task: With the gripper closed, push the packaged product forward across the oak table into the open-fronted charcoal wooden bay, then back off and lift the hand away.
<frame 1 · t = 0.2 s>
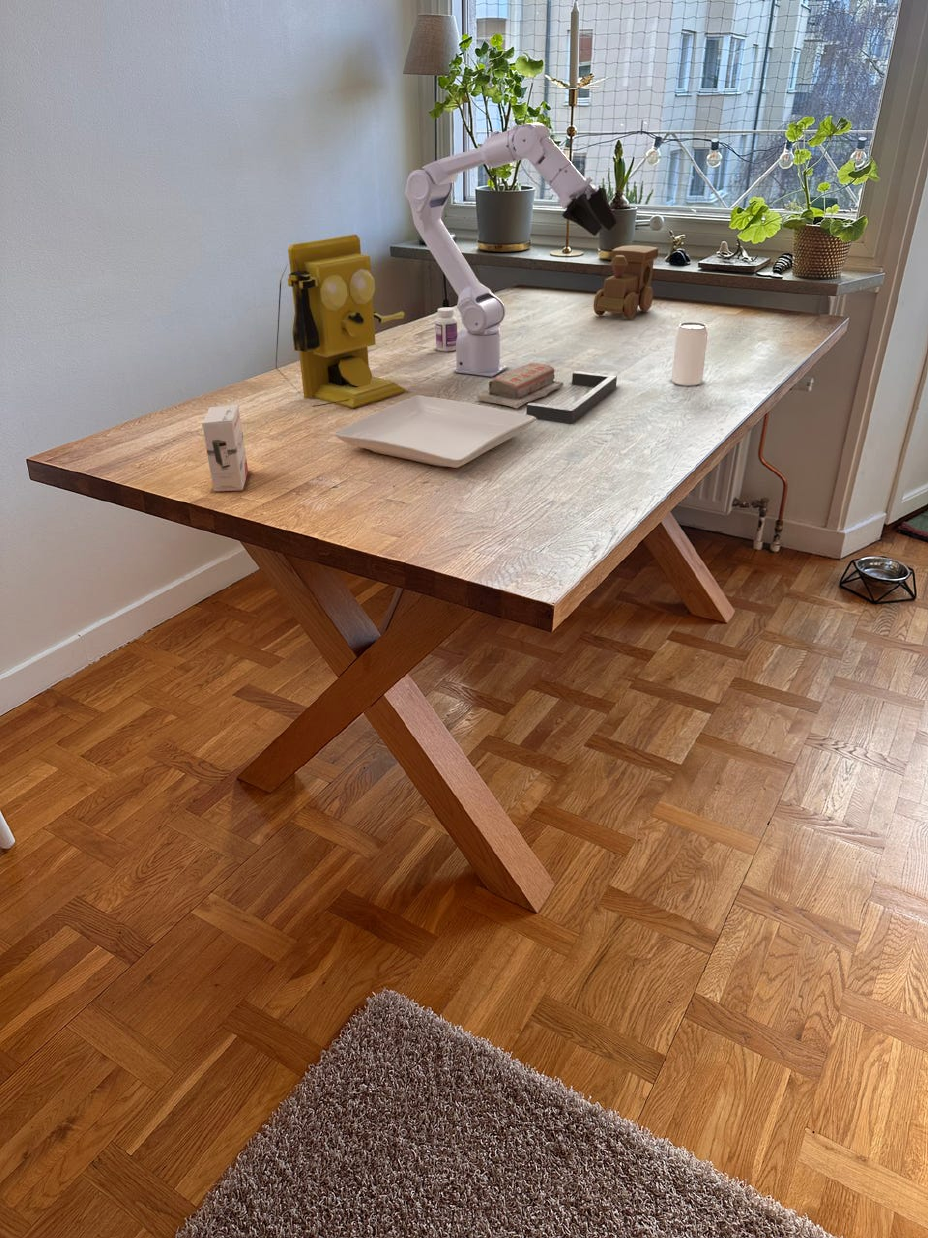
hand: (606, 229, 176), 31 cm above the table, tool tilted 45°, fingers open, 7 cm apart
pill bottle: (447, 349, 221), on the table
wooden toy train: (623, 314, 252), on the table
vintage telephone: (353, 396, 189), on the table
can: (686, 383, 194), on the table
bay: (569, 401, 183), on the table
ink box: (231, 482, 149), on the table
square plate: (436, 443, 164), on the table
packaged product: (520, 395, 188), on the table
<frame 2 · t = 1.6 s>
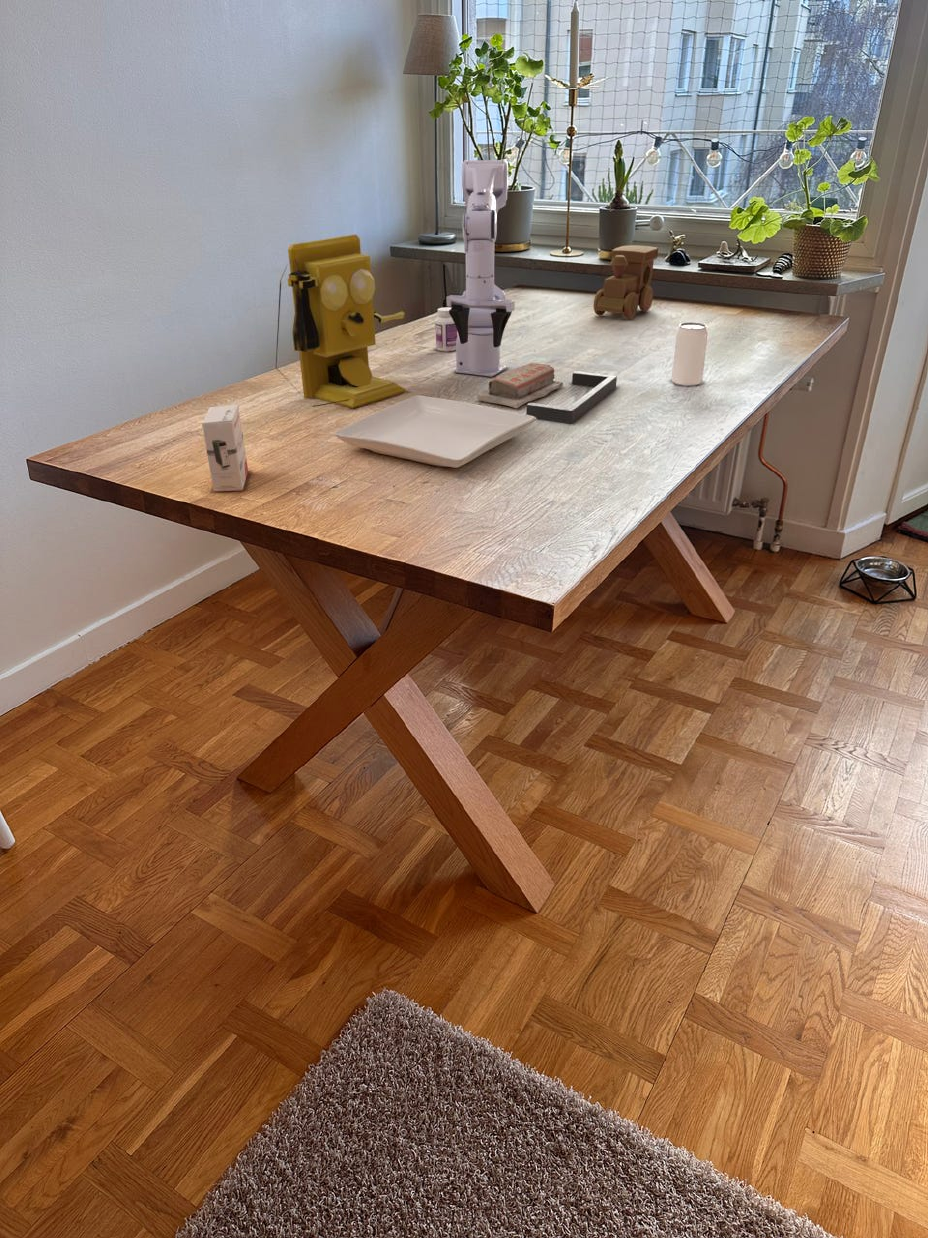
hand: (480, 344, 187), 9 cm above the table, tool pointing down, fingers open, 7 cm apart
nothing on the table moved.
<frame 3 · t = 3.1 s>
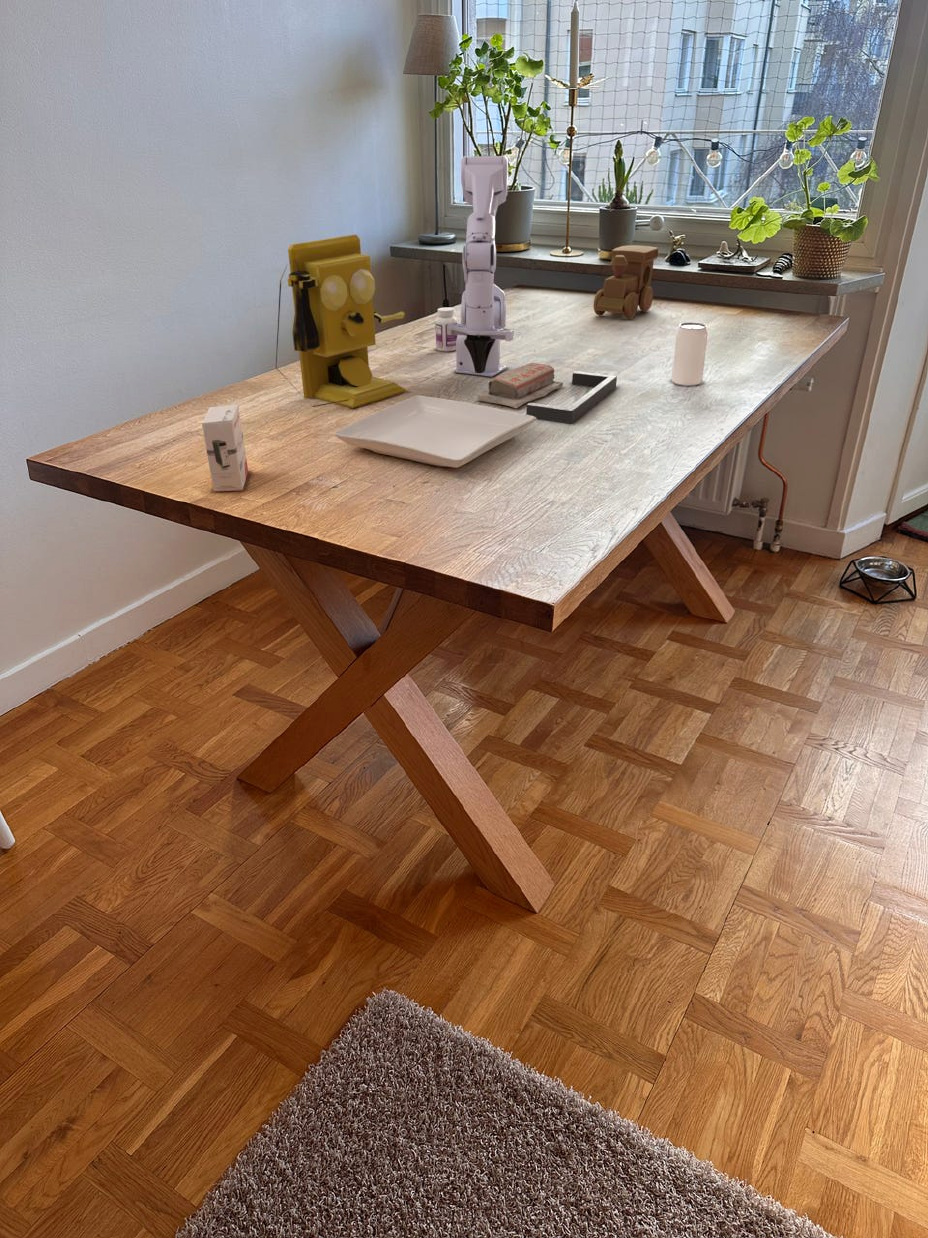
hand: (480, 371, 190), 4 cm above the table, tool pointing down, fingers closed
nothing on the table moved.
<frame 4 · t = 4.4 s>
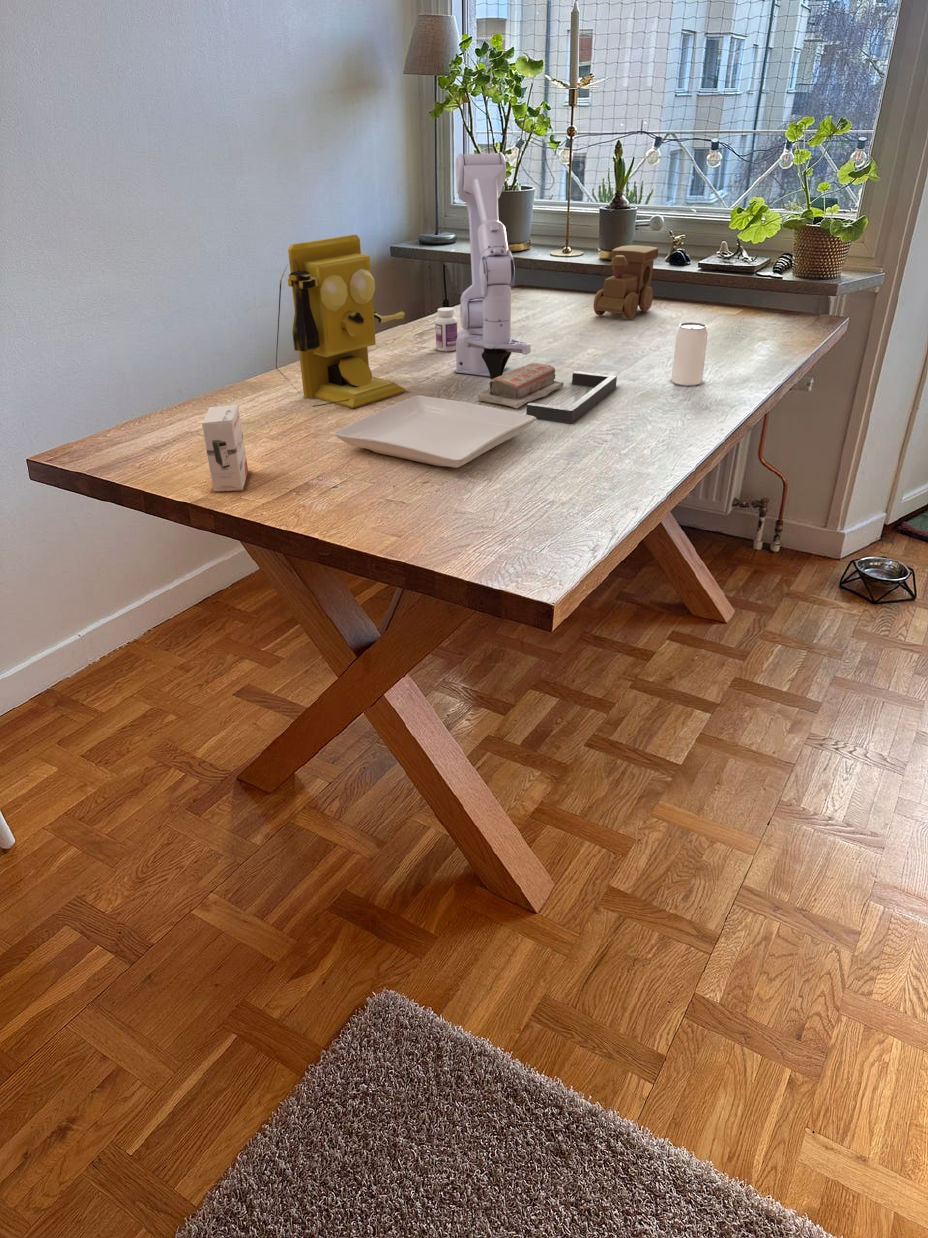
hand: (496, 384, 189), 1 cm above the table, tool pointing down, fingers closed
packaged product: (521, 395, 188), on the table, touching gripper
everything else where it was.
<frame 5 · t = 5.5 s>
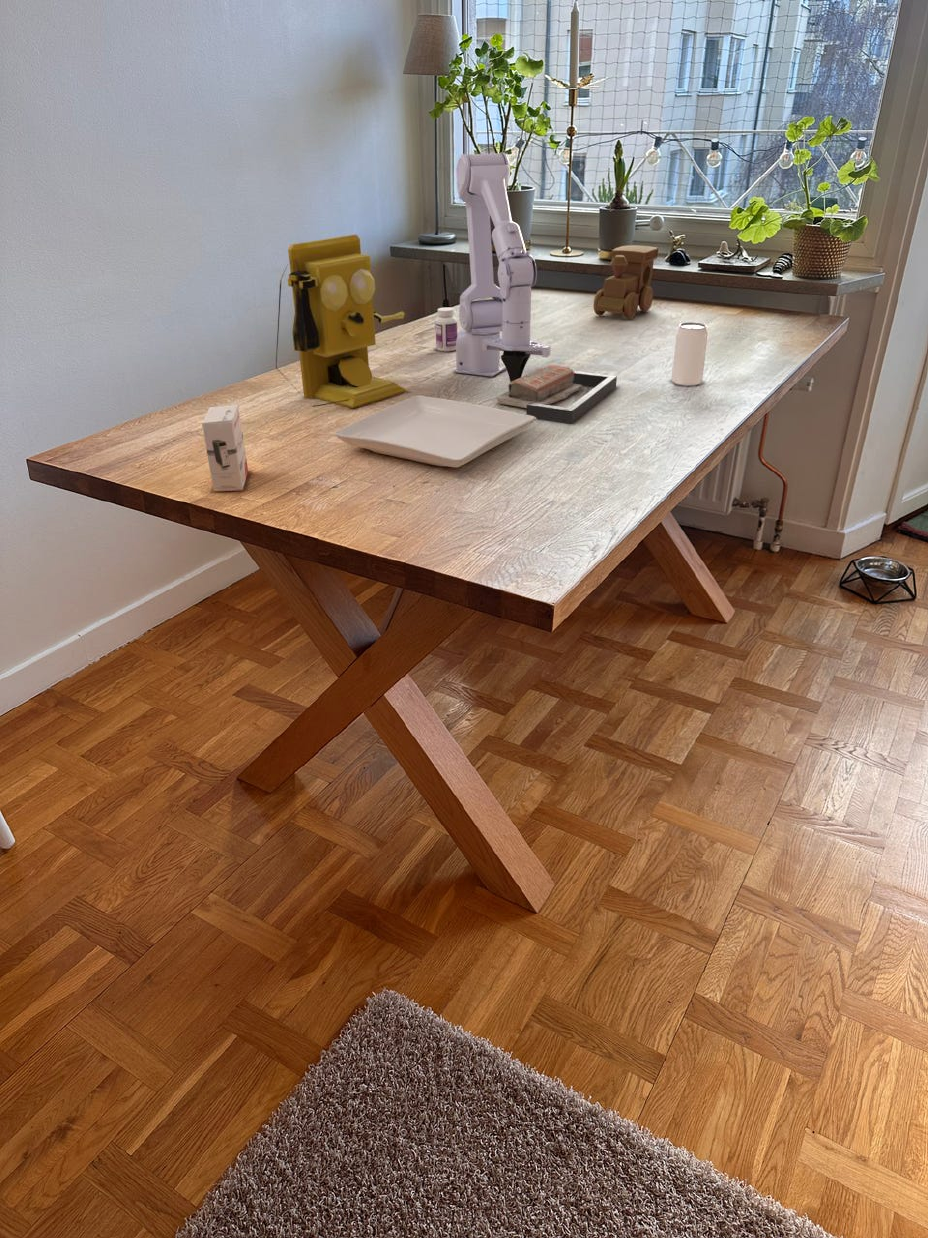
hand: (515, 387, 187), 1 cm above the table, tool pointing down, fingers closed
packaged product: (540, 398, 186), on the table, touching gripper
everything else where it was.
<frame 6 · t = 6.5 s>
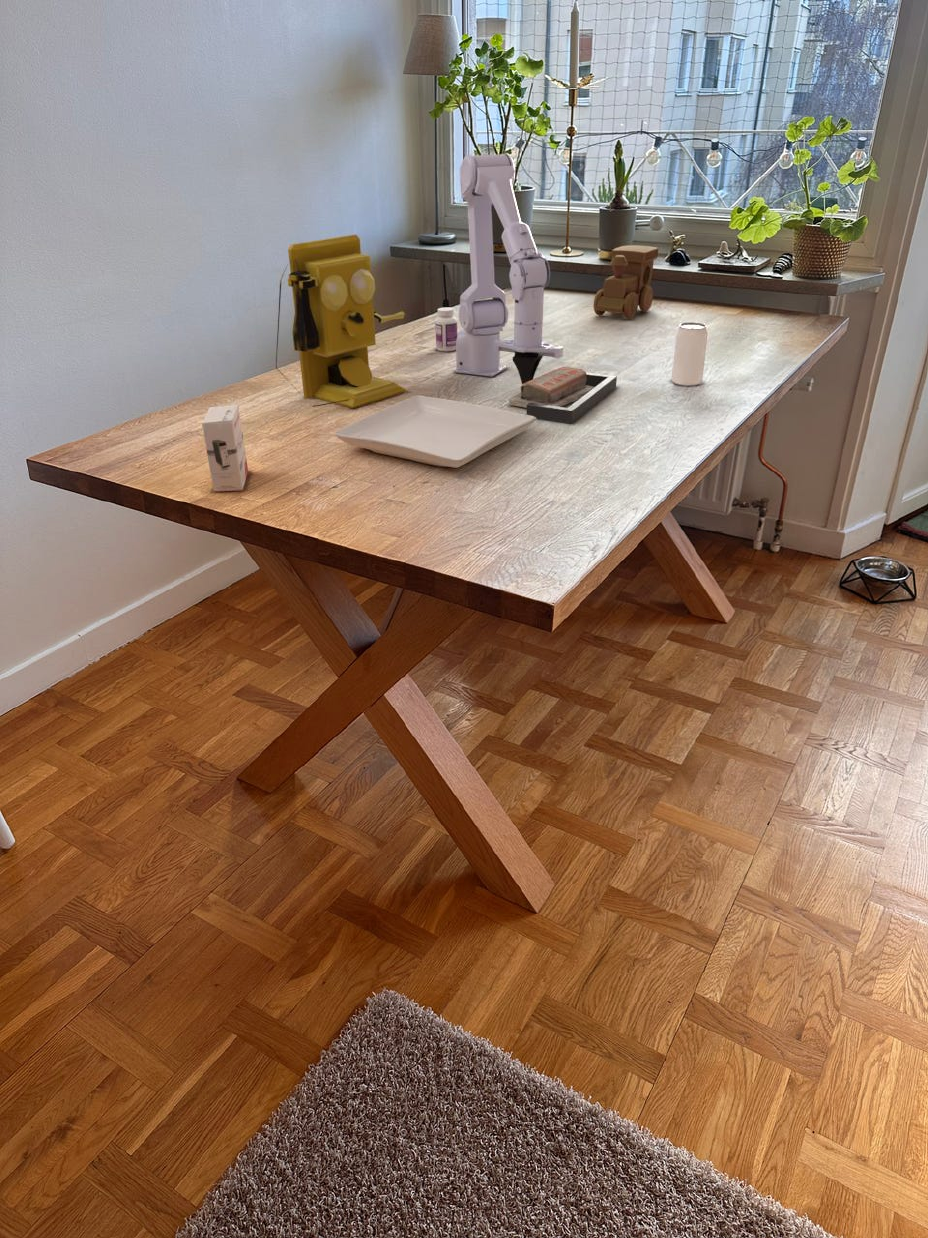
hand: (527, 388, 186), 1 cm above the table, tool pointing down, fingers closed
packaged product: (552, 399, 185), on the table, touching gripper
everything else where it was.
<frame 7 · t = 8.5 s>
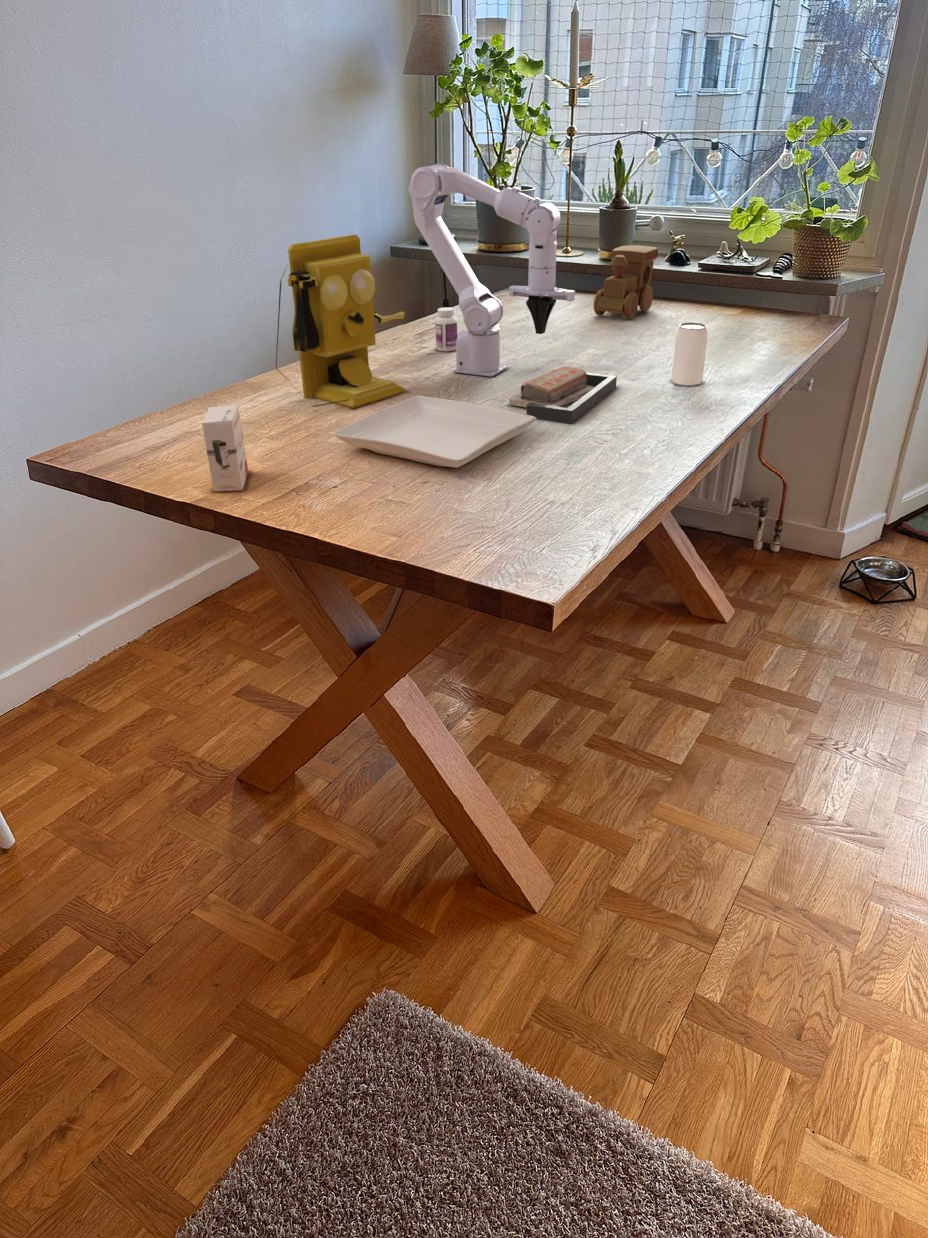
hand: (540, 332, 195), 9 cm above the table, tool pointing down, fingers closed
packaged product: (552, 399, 185), on the table
everything else where it was.
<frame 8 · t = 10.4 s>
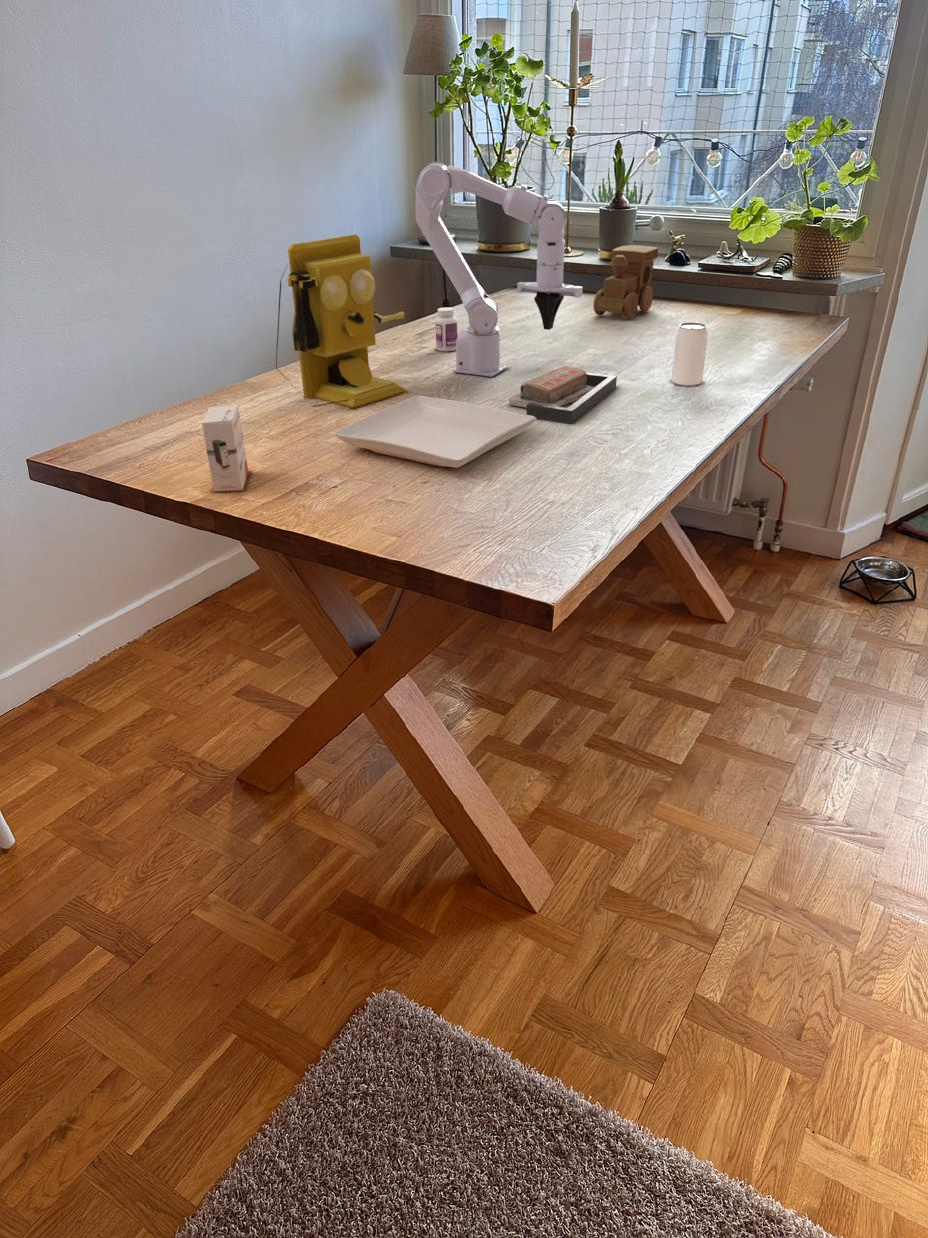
hand: (548, 328, 198), 9 cm above the table, tool pointing down, fingers closed
nothing on the table moved.
at the end: packaged product inside the target area (2.1 cm from its centre), on the table; packaged product moved 7.1 cm from its start; packaged product tilted 1° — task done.
